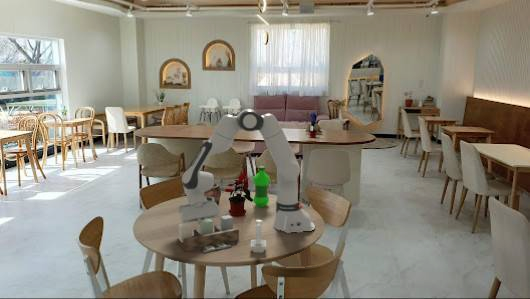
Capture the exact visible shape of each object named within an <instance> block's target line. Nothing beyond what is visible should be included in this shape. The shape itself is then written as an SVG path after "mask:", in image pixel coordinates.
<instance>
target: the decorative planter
mask: <svg viewBox="0 0 530 299" xmlns="http://www.w3.org/2000/svg"><path fill="white" fill-rule="evenodd" d="M203 195H204V196H207V197H213V198H214V202H215V203H216V204H217V205H218V206H219V205H220V200H221V196H222V191H221V187H220V185H219V184H217V183H215V184H214V186H213V188H212V189H210V190H209V191H207V192H204V193H203Z"/></svg>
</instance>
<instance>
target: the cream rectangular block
mask: <svg viewBox="0 0 530 299" xmlns="http://www.w3.org/2000/svg"><path fill="white" fill-rule="evenodd" d="M192 230H193V229H192V224H191V222H188V223H183V222H182V223H179V224H178V239H179V240H180V241H181V243H183V239H185V238H190V237H192V236H193V235H192V234H193V233H192Z"/></svg>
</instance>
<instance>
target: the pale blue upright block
mask: <svg viewBox="0 0 530 299" xmlns="http://www.w3.org/2000/svg"><path fill="white" fill-rule="evenodd" d="M233 221H234V217H233V216H232V215H230V214H228V215H223V216H220V229H221V230H222V231H225V230H230V229H234V226H233V225H234V222H233Z"/></svg>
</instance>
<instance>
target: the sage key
mask: <svg viewBox="0 0 530 299" xmlns="http://www.w3.org/2000/svg"><path fill="white" fill-rule="evenodd" d="M213 225H214V224H213V220H212V218H210V219H205V220H200V225H199V226H200V227H199V228H200V230H199V231H200V232H199V233H200V234H201V235H205V234H210V233H213V232H214V226H213Z"/></svg>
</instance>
